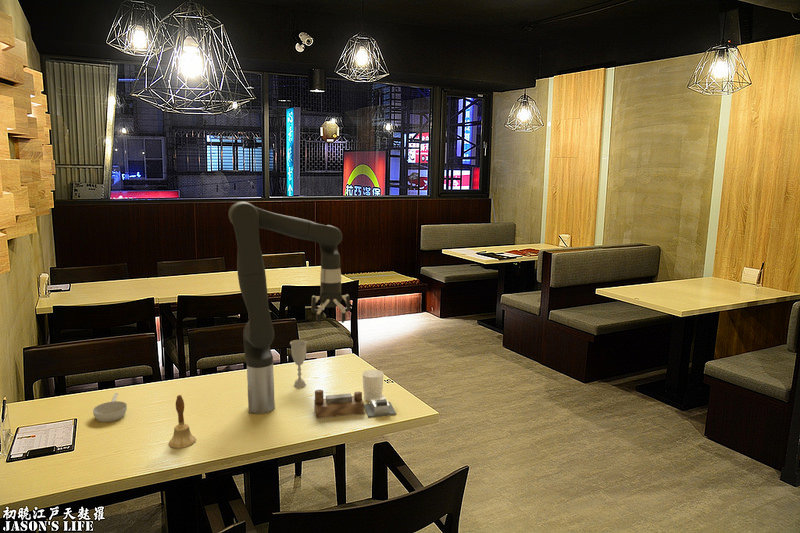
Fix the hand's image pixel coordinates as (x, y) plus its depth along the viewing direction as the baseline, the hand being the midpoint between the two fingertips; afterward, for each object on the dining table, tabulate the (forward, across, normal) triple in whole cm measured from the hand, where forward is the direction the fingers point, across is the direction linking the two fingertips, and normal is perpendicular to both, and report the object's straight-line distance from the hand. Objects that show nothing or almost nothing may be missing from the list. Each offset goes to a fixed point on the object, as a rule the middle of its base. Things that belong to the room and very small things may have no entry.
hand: (331, 322), depth 216 cm
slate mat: (+30, -16, +14) cm, 36 cm away
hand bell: (+31, +51, +24) cm, 64 cm away
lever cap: (+29, -16, +14) cm, 36 cm away
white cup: (+30, -15, +3) cm, 34 cm away
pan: (+31, +78, -5) cm, 84 cm away
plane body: (+30, -1, +13) cm, 32 cm away
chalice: (+30, +11, -15) cm, 35 cm away
